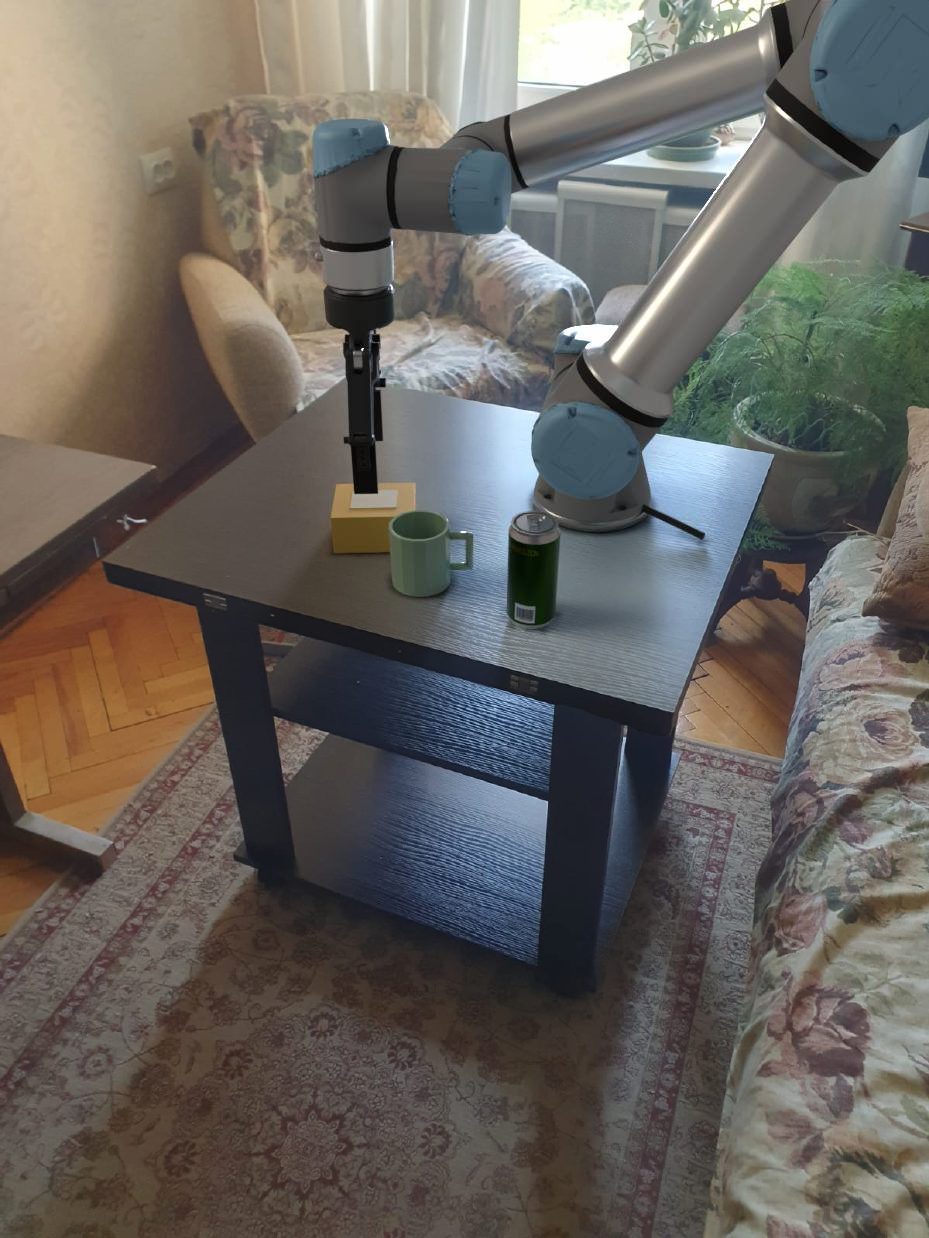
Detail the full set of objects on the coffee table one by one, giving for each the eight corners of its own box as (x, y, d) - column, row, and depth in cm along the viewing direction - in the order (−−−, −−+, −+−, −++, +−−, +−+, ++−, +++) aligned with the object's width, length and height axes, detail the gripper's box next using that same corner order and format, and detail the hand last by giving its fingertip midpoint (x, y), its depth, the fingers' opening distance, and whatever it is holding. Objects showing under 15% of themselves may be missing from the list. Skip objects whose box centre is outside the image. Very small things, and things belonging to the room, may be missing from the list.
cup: (391, 598, 106) (387, 541, 102) (393, 565, 112) (389, 510, 107) (474, 596, 107) (474, 539, 102) (472, 563, 112) (472, 509, 108)
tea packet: (416, 516, 121) (415, 481, 118) (416, 551, 114) (414, 515, 111) (339, 518, 121) (336, 483, 118) (334, 553, 114) (330, 517, 111)
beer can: (552, 633, 101) (558, 538, 94) (503, 628, 101) (505, 533, 94) (557, 604, 105) (563, 511, 98) (509, 600, 106) (512, 507, 99)
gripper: (333, 252, 109) (345, 421, 122) (310, 324, 89) (328, 518, 102) (397, 252, 109) (403, 420, 122) (389, 324, 89) (397, 517, 102)
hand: (369, 465), depth 112 cm, fingers open, 13 cm apart
